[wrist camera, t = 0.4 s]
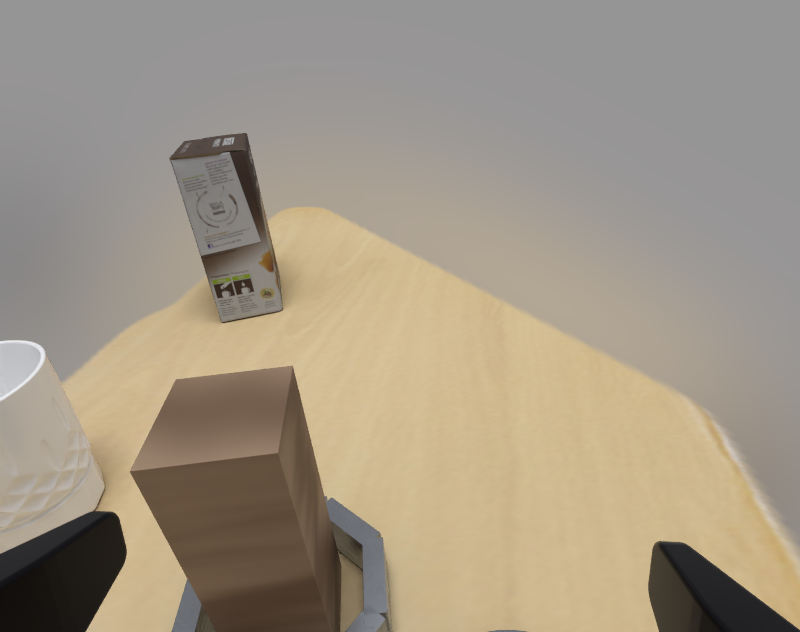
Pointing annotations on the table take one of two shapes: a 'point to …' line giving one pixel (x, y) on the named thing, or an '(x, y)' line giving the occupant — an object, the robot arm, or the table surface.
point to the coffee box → (229, 224)
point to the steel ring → (352, 542)
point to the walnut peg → (244, 502)
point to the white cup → (40, 449)
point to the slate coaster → (506, 631)
